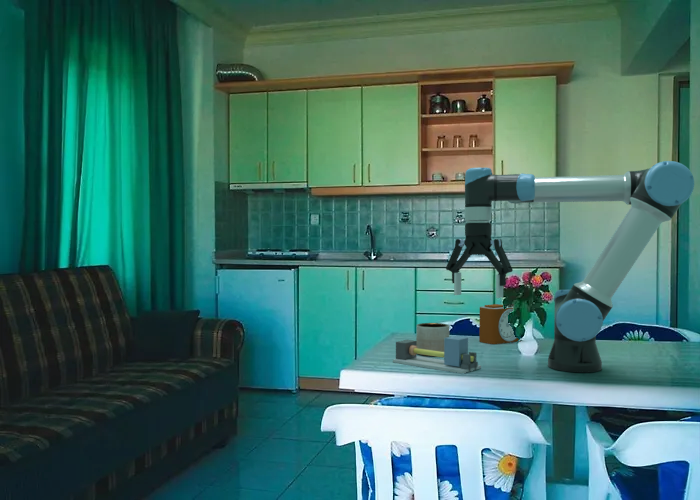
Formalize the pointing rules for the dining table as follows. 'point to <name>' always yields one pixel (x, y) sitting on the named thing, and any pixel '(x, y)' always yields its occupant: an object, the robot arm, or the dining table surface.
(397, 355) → the sliding block rail
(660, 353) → the dining table surface
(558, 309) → the robot arm
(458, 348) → the sleeve
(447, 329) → the planter
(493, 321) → the alarm clock
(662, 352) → the dining table surface
